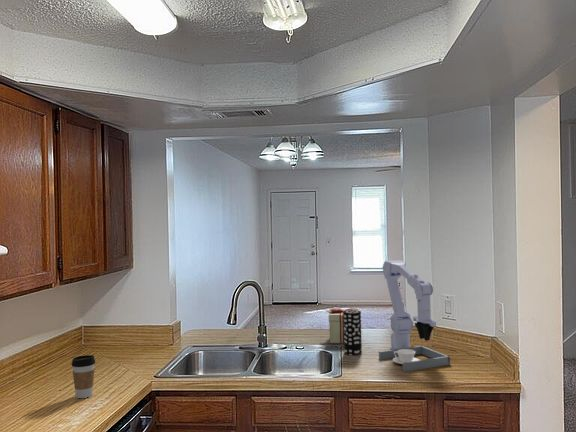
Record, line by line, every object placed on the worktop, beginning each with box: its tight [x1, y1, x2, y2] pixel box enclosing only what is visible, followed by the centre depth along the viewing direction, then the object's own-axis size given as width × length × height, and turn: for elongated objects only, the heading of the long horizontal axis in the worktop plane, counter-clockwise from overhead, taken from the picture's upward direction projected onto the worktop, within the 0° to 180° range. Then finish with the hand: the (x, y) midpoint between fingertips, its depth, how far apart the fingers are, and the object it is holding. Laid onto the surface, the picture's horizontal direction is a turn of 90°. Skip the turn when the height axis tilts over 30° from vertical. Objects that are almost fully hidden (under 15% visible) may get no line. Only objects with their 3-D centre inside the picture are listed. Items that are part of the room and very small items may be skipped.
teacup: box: [392, 349, 420, 365], centre depth 221 cm, size 12×12×5 cm
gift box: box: [325, 307, 359, 344], centre depth 265 cm, size 17×18×17 cm
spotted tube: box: [343, 309, 363, 356], centre depth 239 cm, size 8×8×20 cm
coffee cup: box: [71, 354, 96, 399], centre depth 188 cm, size 8×8×15 cm
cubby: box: [378, 345, 451, 372], centre depth 223 cm, size 20×24×4 cm
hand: (424, 339), depth 225 cm, fingers open, 3 cm apart
